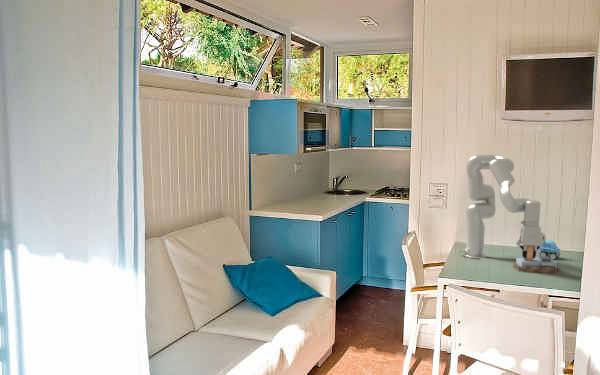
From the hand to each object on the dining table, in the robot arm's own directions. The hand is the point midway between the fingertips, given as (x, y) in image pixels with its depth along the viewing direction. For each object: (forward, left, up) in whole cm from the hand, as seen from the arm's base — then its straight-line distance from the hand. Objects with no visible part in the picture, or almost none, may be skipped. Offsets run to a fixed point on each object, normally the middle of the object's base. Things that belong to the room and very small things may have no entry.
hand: (528, 257), depth 283 cm
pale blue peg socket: (+4, 0, -6) cm, 7 cm away
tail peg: (0, 0, -3) cm, 3 cm away
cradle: (+4, 0, -8) cm, 9 cm away
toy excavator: (+22, +36, -8) cm, 43 cm away
